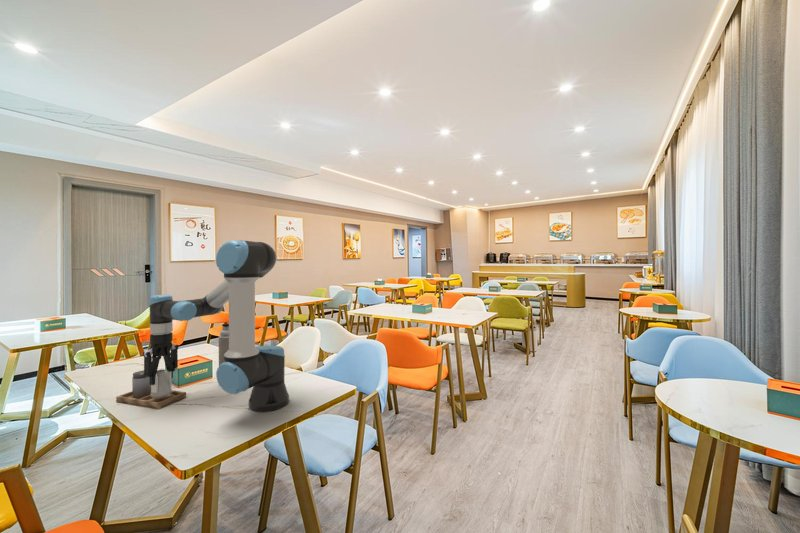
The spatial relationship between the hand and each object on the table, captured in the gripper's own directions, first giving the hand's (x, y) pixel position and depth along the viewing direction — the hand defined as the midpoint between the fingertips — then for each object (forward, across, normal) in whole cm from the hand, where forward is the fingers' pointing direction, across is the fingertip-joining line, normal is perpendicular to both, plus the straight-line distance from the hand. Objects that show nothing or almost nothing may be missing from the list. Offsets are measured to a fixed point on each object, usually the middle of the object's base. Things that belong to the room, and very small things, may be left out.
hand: (161, 389), depth 137 cm
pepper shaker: (+4, 0, -11) cm, 12 cm away
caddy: (+5, 0, -5) cm, 7 cm away
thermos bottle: (+5, -25, +10) cm, 27 cm away
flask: (+2, 0, 0) cm, 2 cm away
